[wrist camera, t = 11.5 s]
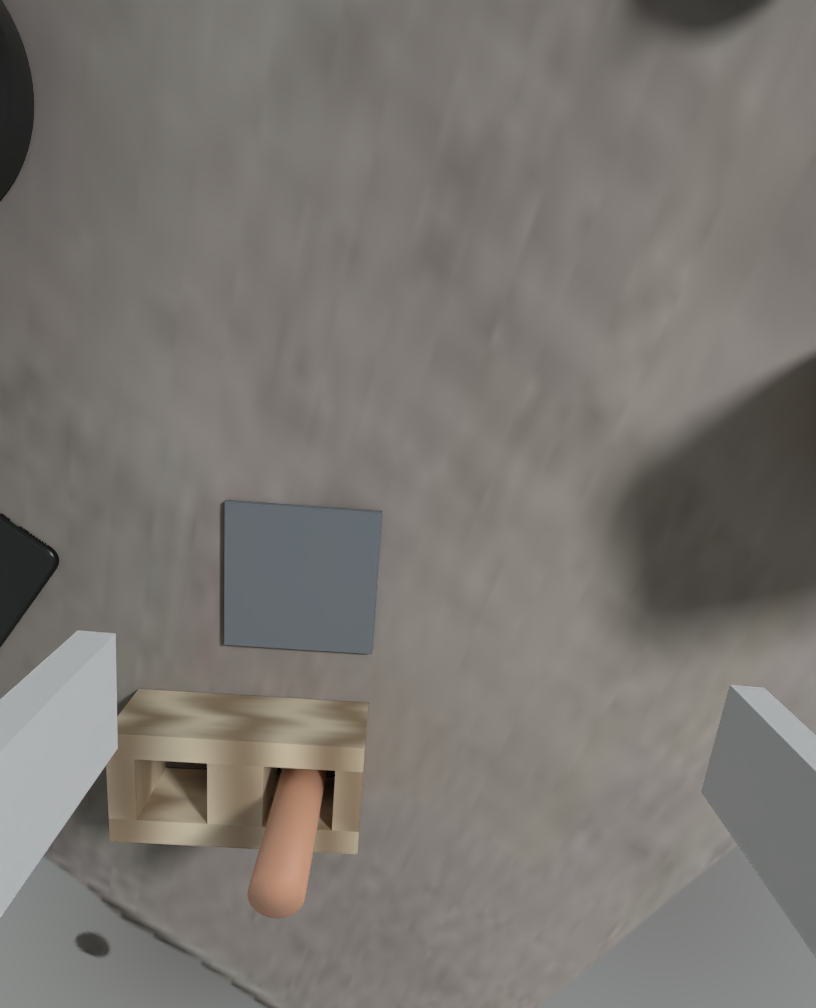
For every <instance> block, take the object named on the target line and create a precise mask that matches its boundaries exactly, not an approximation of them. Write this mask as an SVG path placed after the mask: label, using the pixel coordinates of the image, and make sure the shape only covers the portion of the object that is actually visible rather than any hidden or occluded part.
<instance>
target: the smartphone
mask: <svg viewBox="0 0 816 1008" xmlns="http://www.w3.org/2000/svg"><path fill="white" fill-rule="evenodd" d="M58 564H59V557H58V555H57V553H56V552H55V550H54V549H52V548H51V547H50V546H47V545H46V543H45V544H44V543H43V541H42V542H41V541H40V539H39V540H38V538H36V537H35V536H33V535H32V534H30V533H29V532H28V531H27V530H25V529H23V528H22V527H18V526H16V525H15V524H14V523H12V522H11V521H10V519H9V518H7V517H6V516H5V515H3V514H0V647H1V646H2V644H3V643H4V642H5V640H6V639H7V637H8V636H9V635H10V633H11V632H12V630H13V629H14V628H15V626H16V625H17V623H18V622H19V621H20V619H21V618H22V616H23V615H24V614H25V612H26V611H27V609H28V608H29V607H30V605H31V604H32V603H33V601H34V600H35V598H36V597H37V596H38V594H39V593H40V591H41V590H42V589H43V587H44V586H45V584H46V583H47V582H48V580H49V579H50V577H51V576H52V575H53V573H54V572H55V570H56V569H57V567H58Z"/></svg>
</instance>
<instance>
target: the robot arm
mask: <svg viewBox="0 0 816 1008" xmlns="http://www.w3.org/2000/svg"><path fill="white" fill-rule="evenodd" d="M33 119H34V94H33V84H32V77H31V71H30V67H29V63H28V59H27V55H26V52H25V49H24V46H23V43H22V40H21V37H20V35H19V32H18V30H17V28H16V26H15V23H14V21H13V19H12V18H11V16H10V14H9V12H8V10H7V8H6V7H5V5H4V3H3V2H2V0H0V199H1V198H2V197H3V195H4V194H5V193H6V192H7V190H8V189H9V188H10V186H11V185H12V183H13V182H14V180H15V179H16V177H17V175H18V173H19V171H20V169H21V167H22V165H23V162H24V160H25V157H26V154H27V151H28V148H29V144H30V140H31V134H32V128H33ZM117 749H118V733H117V684H116V634H115V633H103V632H91V631H79V630H78V631H77V632H75V633H74V634H73V635H72V636H71V637H70V638H69V639H68V640H66V641H65V642H64V643H63V644H62V645H61V646H60V647H59V648H57V649H56V650H55V651H54V652H53V653H52V654H51V655H50V656H48V657H47V658H46V659H45V660H44V661H43V662H42V663H41V664H39V665H38V666H37V667H36V668H35V669H34V670H33V671H32V672H30V673H29V674H28V675H27V676H26V677H25V678H24V679H23V680H21V681H20V682H19V683H18V684H17V685H16V686H15V687H14V688H13V689H11V690H10V691H9V692H8V693H7V694H6V695H5V696H4V697H2V698H1V699H0V917H1V916H2V915H3V913H4V912H5V910H6V909H7V907H8V906H9V904H10V903H11V902H12V900H13V899H14V897H15V896H16V894H17V893H18V891H19V890H20V889H21V887H22V885H23V884H24V883H25V881H26V880H27V878H28V877H29V876H30V874H31V873H32V871H33V870H34V868H35V867H36V865H37V864H38V863H39V861H40V860H41V858H42V857H43V855H44V854H45V853H46V851H47V850H48V848H49V847H50V845H51V844H52V842H53V841H54V840H55V838H56V837H57V835H58V834H59V832H60V831H61V829H62V828H63V827H64V825H65V824H66V822H67V821H68V819H69V818H70V816H71V815H72V814H73V812H74V811H75V809H76V808H77V806H78V805H79V803H80V802H81V801H82V799H83V798H84V796H85V795H86V793H87V792H88V790H89V789H90V788H91V786H92V785H93V783H94V782H95V780H96V779H97V777H98V776H99V775H100V773H101V772H102V770H103V769H104V767H105V766H106V764H107V763H108V762H109V760H110V759H111V757H112V756H113V754H114V753H115V752H116V750H117ZM701 792H702V794H703V795H704V796H705V798H706V799H707V801H708V802H709V804H710V805H711V807H712V808H713V809H714V811H715V812H716V814H717V815H718V817H719V818H720V820H721V821H722V823H723V824H724V825H725V827H726V828H727V830H728V831H729V833H730V834H731V836H732V837H733V839H734V840H735V841H736V843H737V844H738V846H739V847H740V849H741V850H742V852H743V853H744V854H745V856H746V857H747V859H748V860H749V862H750V863H751V864H752V866H753V867H754V869H755V870H756V872H757V873H758V875H759V876H760V878H761V879H762V880H763V882H764V884H765V885H766V886H767V888H768V889H769V891H770V892H771V894H772V895H773V897H774V898H775V899H776V901H777V902H778V904H779V905H780V907H781V908H782V910H783V911H784V912H785V914H786V915H787V917H788V918H789V920H790V921H791V923H792V924H793V926H794V927H795V928H796V930H797V931H798V933H799V934H800V936H801V937H802V938H803V940H804V941H805V943H806V944H807V946H808V947H809V949H810V950H811V952H812V953H813V955H814V956H815V958H816V735H815V734H814V733H813V732H812V731H810V730H809V729H808V728H807V727H806V726H805V725H804V724H803V723H802V722H801V721H800V720H799V719H797V718H796V717H795V716H794V715H793V714H792V713H791V712H790V711H789V710H788V709H787V708H786V707H784V706H783V705H782V704H781V703H780V702H779V701H778V700H777V699H776V698H775V697H774V696H773V695H771V694H770V693H769V692H768V691H767V690H766V689H765V688H762V687H750V686H738V685H730V687H729V690H728V694H727V698H726V702H725V705H724V709H723V713H722V717H721V720H720V724H719V728H718V731H717V735H716V739H715V743H714V746H713V750H712V754H711V758H710V761H709V765H708V769H707V773H706V776H705V780H704V784H703V788H702V791H701Z"/></svg>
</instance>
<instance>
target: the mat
mask: <svg viewBox="0 0 816 1008" xmlns="http://www.w3.org/2000/svg"><path fill="white" fill-rule="evenodd" d="M381 518H382V511H372V510H358V509H344V508H330V507H316V506H302V505H288V504H274V503H260V502H246V501H232V500H226V501H225V554H224V645H235V646H251V647H267V648H283V649H299V650H314V651H330V652H346V653H362V654H372V647H373V632H374V618H375V604H376V589H377V575H378V561H379V546H380V532H381Z"/></svg>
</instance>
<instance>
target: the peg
mask: <svg viewBox="0 0 816 1008" xmlns="http://www.w3.org/2000/svg"><path fill="white" fill-rule="evenodd" d="M326 773H327V770H313V769H295V768H282V771H281V775H280V778H279V782H278V785H277V789H276V792H275V796H274V800H273V803H272V807H271V810H270V814H269V817H268V821H267V825H266V828H265V832H264V835H263V839H262V842H261V846H260V850H259V853H258V857H257V860H256V864H255V867H254V871H253V875H252V878H251V882H250V885H249V889H248V899H249V902H250V904H251V906H252V907H253V908H254V909H255V910H256V911H257V912H258V913H260V914H262V915H264V916H267V917H271V918H284V917H288V916H291V915H293V914H295V913H296V912H297V911H298V910H299V909H300V908H301V907H302V906H303V904H304V901H305V896H306V890H307V884H308V878H309V872H310V866H311V861H312V855H313V849H314V843H315V837H316V831H317V826H318V820H319V814H320V808H321V802H322V796H323V791H324V785H325V779H326Z"/></svg>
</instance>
